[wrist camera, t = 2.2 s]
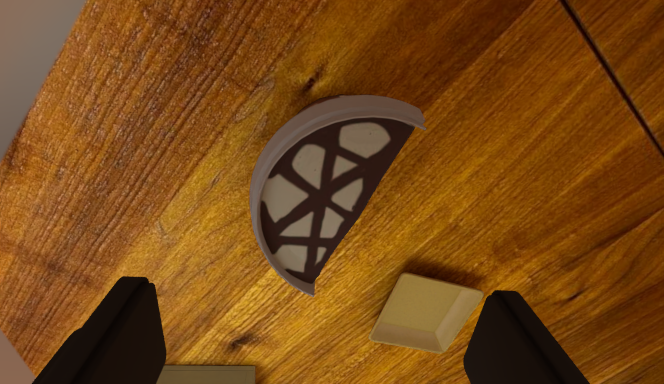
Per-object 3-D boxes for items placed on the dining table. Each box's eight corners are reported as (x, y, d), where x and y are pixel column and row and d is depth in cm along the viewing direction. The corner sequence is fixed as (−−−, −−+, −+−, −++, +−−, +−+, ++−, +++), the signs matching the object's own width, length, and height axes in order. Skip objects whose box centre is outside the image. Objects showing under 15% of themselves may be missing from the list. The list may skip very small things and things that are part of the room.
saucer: (477, 278, 33) (487, 293, 31) (437, 338, 36) (444, 355, 34) (397, 257, 31) (402, 272, 29) (363, 323, 35) (366, 340, 33)
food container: (311, 40, 23) (313, 48, 14) (386, 85, 24) (433, 118, 15) (240, 187, 27) (207, 266, 18) (308, 217, 29) (309, 303, 20)
